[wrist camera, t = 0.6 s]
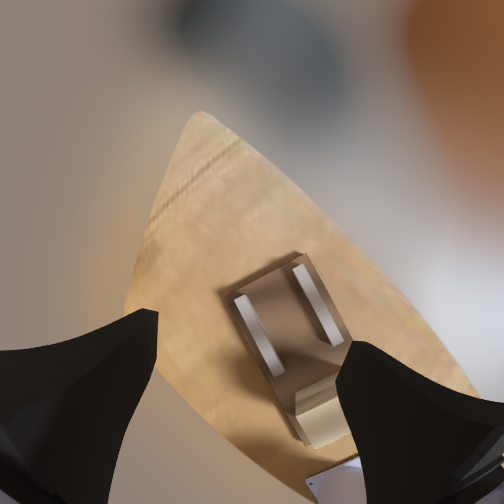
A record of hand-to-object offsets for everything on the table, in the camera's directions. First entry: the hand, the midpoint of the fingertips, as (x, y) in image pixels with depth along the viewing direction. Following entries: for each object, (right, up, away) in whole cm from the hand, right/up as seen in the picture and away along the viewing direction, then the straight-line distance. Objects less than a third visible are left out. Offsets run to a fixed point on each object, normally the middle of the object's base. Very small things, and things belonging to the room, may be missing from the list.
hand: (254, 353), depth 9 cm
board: (+6, -8, +19) cm, 21 cm away
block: (+8, -12, +16) cm, 22 cm away
